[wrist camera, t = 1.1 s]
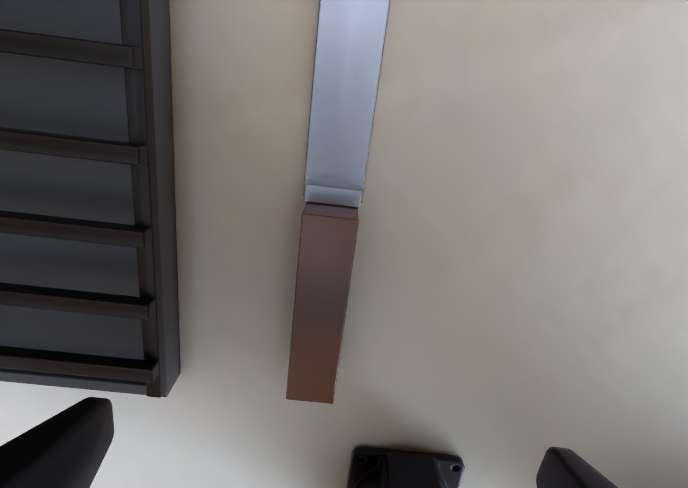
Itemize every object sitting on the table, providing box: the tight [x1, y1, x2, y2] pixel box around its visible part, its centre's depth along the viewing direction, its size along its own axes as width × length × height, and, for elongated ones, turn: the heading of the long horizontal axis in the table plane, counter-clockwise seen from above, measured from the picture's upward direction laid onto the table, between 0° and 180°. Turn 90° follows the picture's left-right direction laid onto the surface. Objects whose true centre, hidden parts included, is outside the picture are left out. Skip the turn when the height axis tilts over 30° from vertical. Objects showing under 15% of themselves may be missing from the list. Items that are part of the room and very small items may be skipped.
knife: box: [286, 0, 390, 404], centre depth 16 cm, size 21×3×3 cm, turn 173°
